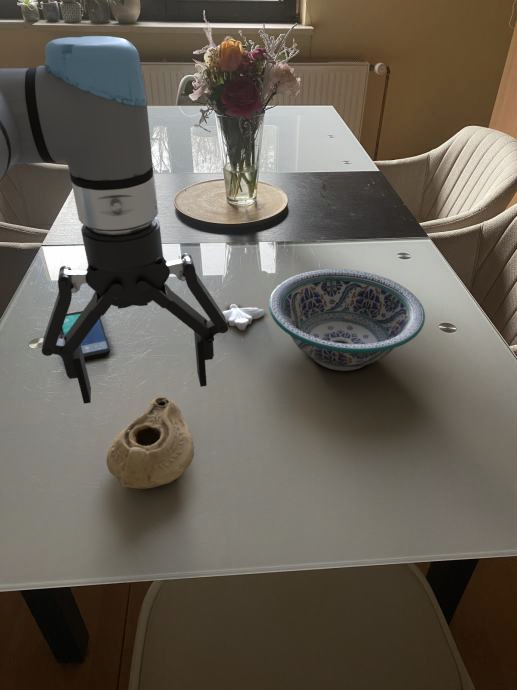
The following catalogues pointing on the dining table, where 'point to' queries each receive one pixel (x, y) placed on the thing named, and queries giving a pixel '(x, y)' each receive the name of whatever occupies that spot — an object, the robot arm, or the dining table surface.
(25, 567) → the dining table surface
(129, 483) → the oil lamp
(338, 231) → the dining table surface
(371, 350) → the bowl
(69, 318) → the smartphone
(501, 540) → the dining table surface
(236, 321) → the acanthus leaf ornament
